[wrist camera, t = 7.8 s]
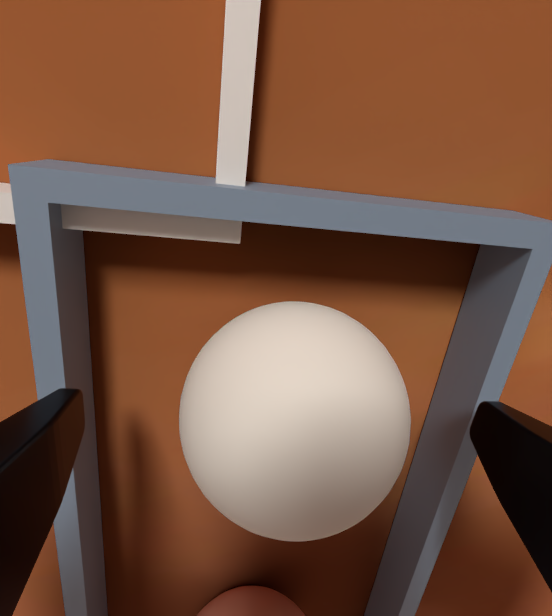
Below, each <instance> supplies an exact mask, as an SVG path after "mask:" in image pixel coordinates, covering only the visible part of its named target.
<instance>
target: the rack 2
mask: <svg viewBox="0 0 552 616" xmlns="http://www.w3.org/2000/svg"><path fill="white" fill-rule="evenodd" d="M8 170H9V177H10V185H11V193H12V201H13V209H14V217H15V224H16V232H17V240H18V248H19V256H20V264H21V271H22V279H23V287H24V295H25V303H26V311H27V318H28V326H29V334H30V342H31V350H32V357H33V365H34V373H35V381H36V389H37V397H38V400H40V399H42V398H43V397H45V396H47V395H49V394H50V393H52V392H54V391H56V390H58V389H60V388H72V389H80V390H81V391H82V393H83V400H84V412H85V429H84V434H83V437H82V440H81V444H80V447H79V450H78V453H77V456H76V460H75V463H74V466H73V469H72V472H71V476H70V479H69V482H68V485H67V488H66V491H65V494H64V497H63V500H62V503H61V506H60V508H59V510H58V513H57V515H56V518H55V520H54V530H55V538H56V545H57V553H58V561H59V569H60V577H61V585H62V592H63V600H64V608H65V616H108V611H107V596H106V580H105V565H104V550H103V534H102V519H101V503H100V488H99V473H98V457H97V442H96V426H95V411H94V396H93V380H92V365H91V350H90V334H89V319H88V303H87V288H86V273H85V257H84V242H83V230H75V229H64V228H63V227H62V215H61V204H67V205H77V206H88V207H98V208H109V209H119V210H130V211H140V212H151V213H161V214H171V215H182V216H192V217H203V218H213V219H224V220H234V221H245V222H255V223H266V224H276V225H286V226H297V227H307V228H318V229H328V230H339V231H349V232H360V233H370V234H381V235H391V236H402V237H412V238H422V239H433V240H443V241H454V242H464V243H475V244H481V245H480V248H479V251H478V254H477V257H476V261H475V264H474V267H473V270H472V273H471V277H470V280H469V283H468V286H467V289H466V292H465V296H464V299H463V302H462V305H461V308H460V311H459V315H458V318H457V321H456V324H455V327H454V331H453V334H452V337H451V340H450V343H449V346H448V350H447V353H446V356H445V359H444V362H443V366H442V369H441V372H440V375H439V378H438V381H437V385H436V388H435V391H434V394H433V397H432V401H431V404H430V407H429V410H428V413H427V416H426V420H425V423H424V426H423V429H422V432H421V436H420V439H419V442H418V445H417V448H416V451H415V455H414V458H413V461H412V464H411V467H410V471H409V474H408V477H407V480H406V483H405V486H404V490H403V493H402V496H401V499H400V502H399V506H398V509H397V512H396V515H395V518H394V521H393V525H392V528H391V531H390V534H389V537H388V540H387V544H386V547H385V550H384V553H383V556H382V560H381V563H380V566H379V569H378V572H377V575H376V579H375V582H374V585H373V588H372V591H371V595H370V598H369V601H368V604H367V607H366V610H365V614H364V616H415V613H416V611H417V608H418V606H419V603H420V601H421V598H422V595H423V593H424V590H425V588H426V585H427V583H428V580H429V577H430V575H431V572H432V570H433V567H434V565H435V562H436V559H437V557H438V554H439V552H440V549H441V547H442V544H443V542H444V539H445V536H446V534H447V531H448V529H449V526H450V524H451V521H452V518H453V516H454V513H455V511H456V508H457V506H458V503H459V500H460V498H461V495H462V493H463V490H464V488H465V485H466V482H467V480H468V477H469V475H470V472H471V470H472V467H473V465H474V462H475V459H476V457H477V452H476V450H475V448H474V446H473V443H472V441H471V439H470V434H469V430H470V426H471V423H472V421H473V418H474V415H475V413H476V410H477V407H478V405H479V404H480V403H481V402H483V401H498V400H499V398H500V395H501V393H502V390H503V388H504V385H505V382H506V380H507V377H508V375H509V372H510V370H511V367H512V364H513V362H514V359H515V357H516V354H517V352H518V349H519V346H520V344H521V341H522V339H523V336H524V334H525V331H526V328H527V326H528V323H529V321H530V318H531V316H532V313H533V311H534V308H535V305H536V303H537V300H538V298H539V295H540V293H541V290H542V287H543V285H544V282H545V280H546V277H547V275H548V272H549V269H550V267H551V264H552V221H551V220H547V219H543V218H539V217H535V216H532V215H528V214H524V213H520V212H516V211H511V210H502V209H493V208H484V207H475V206H466V205H457V204H448V203H439V202H430V201H420V200H411V199H402V198H393V197H384V196H375V195H366V194H357V193H348V192H339V191H330V190H321V189H312V188H303V187H294V186H285V185H276V184H267V183H258V182H249V181H245V186H235V185H226V184H217V183H216V178H213V177H204V176H195V175H186V174H177V173H168V172H159V171H150V170H141V169H132V168H123V167H114V166H105V165H96V164H87V163H78V162H69V161H60V160H51V159H47V160H39V161H31V162H23V163H15V164H8Z"/></svg>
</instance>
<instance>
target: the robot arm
mask: <svg viewBox="0 0 552 616" xmlns="http://www.w3.org/2000/svg"><path fill="white" fill-rule="evenodd" d="M84 429H85V412H84V400H83V393H82V391H81V390H80V389H72V388H60V389H58V390H56V391H54V392H52V393H50V394H49V395H47V396H45V397H43V398H42V399H40V400H38V401H36V402H35V403H33V404H31V405H29V406H28V407H26V408H24V409H22V410H21V411H19V412H17V413H15V414H14V415H12V416H10V417H8V418H7V419H5V420H3V421H1V422H0V616H12V615H13V612H14V610H15V608H16V606H17V603H18V601H19V599H20V597H21V594H22V592H23V590H24V588H25V585H26V583H27V581H28V579H29V576H30V574H31V572H32V569H33V567H34V565H35V563H36V560H37V558H38V556H39V554H40V551H41V549H42V547H43V545H44V542H45V540H46V538H47V536H48V533H49V531H50V529H51V527H52V524H53V522H54V520H55V518H56V515H57V513H58V510H59V508H60V506H61V503H62V500H63V497H64V494H65V491H66V488H67V485H68V482H69V479H70V476H71V472H72V469H73V466H74V463H75V460H76V456H77V453H78V450H79V447H80V444H81V440H82V437H83V434H84ZM469 434H470V439H471V441H472V443H473V446H474V448H475V450H476V452H477V454H478V457H479V459H480V461H481V463H482V465H483V467H484V470H485V472H486V474H487V476H488V478H489V480H490V483H491V485H492V487H493V489H494V491H495V493H496V495H497V497H498V499H499V501H500V503H501V505H502V506H503V508H504V510H505V512H506V514H507V515H508V517H509V519H510V520H511V522H512V524H513V526H514V527H515V529H516V531H517V533H518V534H519V536H520V538H521V540H522V541H523V543H524V545H525V547H526V548H527V550H528V552H529V554H530V555H531V557H532V559H533V560H534V562H535V564H536V566H537V567H538V569H539V571H540V573H541V574H542V576H543V578H544V580H545V581H546V583H547V585H548V587H549V588H550V590H551V592H552V427H551V426H549V425H547V424H545V423H543V422H541V421H539V420H537V419H535V418H533V417H530V416H528V415H526V414H524V413H522V412H520V411H518V410H516V409H514V408H512V407H510V406H508V405H505V404H503V403H501V402H498V401H483V402H481V403H480V404H479V405H478V407H477V410H476V413H475V415H474V418H473V421H472V423H471V426H470V430H469Z"/></svg>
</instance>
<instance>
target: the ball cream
mask: <svg viewBox="0 0 552 616" xmlns="http://www.w3.org/2000/svg"><path fill="white" fill-rule="evenodd" d="M410 427H411V415H410V406H409V399H408V395H407V391H406V387H405V384H404V381H403V378H402V376H401V374H400V371H399V369H398V367H397V365H396V363H395V362H394V360H393V358H392V357H391V355H390V354H389V352H388V351H387V349H386V348H385V346H384V345H383V344H382V343H381V342H380V341H379V340H378V339H377V338H376V336H375V335H374V334H373V333H372V332H371V331H370V330H368V329H367V328H366V327H365V326H363V325H362V324H361V323H359V322H358V321H356V320H355V319H353V318H351V317H349V316H348V315H346V314H344V313H342V312H340V311H338V310H335V309H333V308H330V307H326V306H323V305H319V304H315V303H308V302H294V301H287V302H278V303H272V304H268V305H264V306H260V307H257V308H255V309H252V310H249V311H247V312H245V313H243V314H241V315H239V316H237V317H236V318H234V319H233V320H231V321H230V322H228V323H227V324H225V325H224V326H223V327H222V328H221V329H220V330H219V331H218V332H216V333H215V334H214V335H213V336H212V337H211V338H210V339H209V341H208V342H207V343H206V344H205V345H204V346H203V348H202V349H201V351H200V352H199V354H198V355H197V357H196V359H195V360H194V362H193V364H192V366H191V368H190V370H189V373H188V375H187V377H186V381H185V384H184V388H183V392H182V395H181V401H180V410H179V432H180V439H181V444H182V449H183V453H184V457H185V459H186V462H187V465H188V467H189V470H190V472H191V474H192V477H193V478H194V480H195V482H196V483H197V485H198V486H199V488H200V490H201V491H202V493H203V494H204V496H205V497H206V498H207V499H208V500H209V501H210V503H211V504H212V505H213V506H214V507H215V508H216V509H217V510H218V511H219V512H221V513H222V514H223V515H224V516H225V517H226V518H228V519H229V520H231V521H232V522H234V523H235V524H237V525H239V526H240V527H242V528H244V529H246V530H248V531H250V532H252V533H254V534H257V535H260V536H263V537H267V538H272V539H276V540H282V541H297V542H300V541H311V540H317V539H322V538H326V537H329V536H332V535H335V534H338V533H340V532H342V531H345V530H347V529H349V528H350V527H352V526H354V525H356V524H357V523H359V522H360V521H361V520H363V519H364V518H366V517H367V516H368V515H369V514H370V513H371V512H372V511H373V510H374V509H375V508H376V507H378V505H379V504H380V503H381V502H382V501H383V500H384V499H385V498H386V496H387V495H388V493H389V492H390V491H391V489H392V487H393V485H394V484H395V482H396V480H397V478H398V476H399V474H400V472H401V470H402V467H403V465H404V462H405V458H406V455H407V451H408V446H409V442H410Z"/></svg>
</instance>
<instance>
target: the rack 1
mask: <svg viewBox="0 0 552 616" xmlns="http://www.w3.org/2000/svg"><path fill="white" fill-rule="evenodd" d="M260 4H261V0H226V11H225V28H224V45H223V63H222V80H221V97H220V115H219V132H218V149H217V167H216V183H217V184H226V185H235V186H245V181H246V170H247V158H248V146H249V134H250V122H251V111H252V99H253V87H254V75H255V63H256V51H257V40H258V28H259V16H260ZM61 215H62V227H63V228H64V229H75V230H87V231H98V232H110V233H121V234H133V235H144V236H156V237H167V238H179V239H190V240H202V241H213V242H225V243H236V244H240V241H241V229H242V221H234V220H224V219H213V218H203V217H192V216H182V215H171V214H161V213H151V212H140V211H130V210H119V209H109V208H98V207H88V206H77V205H67V204H61ZM0 223H6V224H15V217H14V209H13V201H12V193H11V185H10V184H8V183H0Z"/></svg>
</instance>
